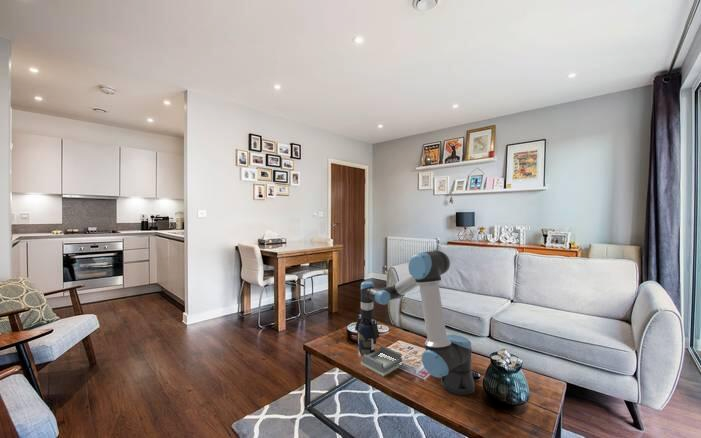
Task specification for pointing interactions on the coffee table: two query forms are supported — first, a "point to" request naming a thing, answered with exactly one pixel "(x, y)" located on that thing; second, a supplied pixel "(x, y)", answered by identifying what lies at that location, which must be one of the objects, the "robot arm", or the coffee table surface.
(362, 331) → the canister
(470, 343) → the robot arm
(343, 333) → the coffee table surface
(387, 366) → the grey square tray
